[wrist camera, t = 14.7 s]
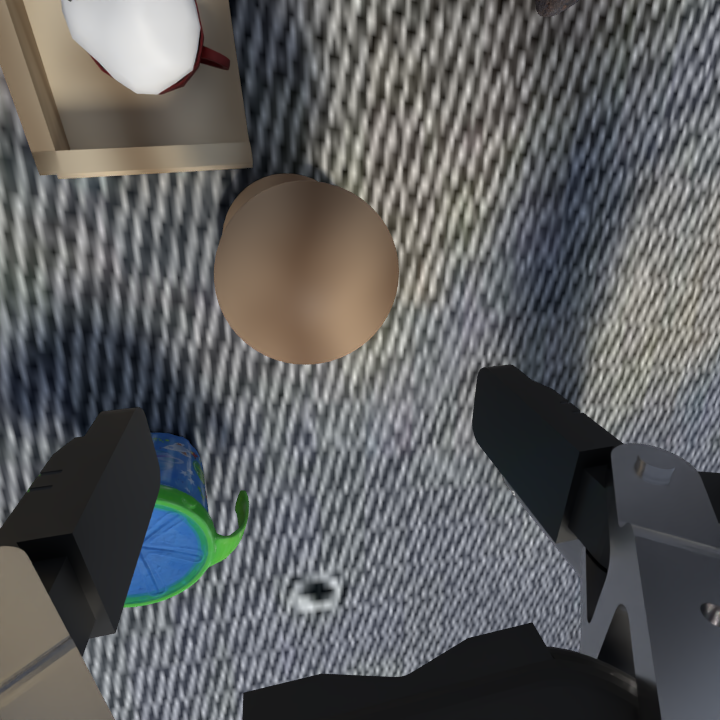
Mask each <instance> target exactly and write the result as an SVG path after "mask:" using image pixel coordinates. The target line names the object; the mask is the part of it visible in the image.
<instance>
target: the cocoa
mask: <svg viewBox="0 0 720 720" xmlns="http://www.w3.org/2000/svg"><path fill="white" fill-rule="evenodd" d="M61 5H62V12H63V15H64V18H65V20H66V23H67V26H68V28H69V31H70V34H71V36H72V39H73V40H75V41H76V42H77V43H78V44H79V45H80V46H81V47H82V48H83V49H85V50H86V51H87V52H88V54H89V55H90V56H91V58H92V59H93V60H94V62H95V63H96V64H97V65H98V67H99V68H100V69H101V71H103V72H104V73H106V74H107V75H109V76H110V77H112V78H114V79H115V80H117V81H118V82H120V83H121V84H123V85H124V86H126V87H127V88H129V89H130V90H132V91H133V92H135V93H136V94H155V95H157V94H159V95H162V94H165V93H167V92H170V91H173V90H176V89H178V88H181V87H184V86H185V85H186V83H187V82H188V81H189V79H190V78H191V77H192V76H193V74H194V73H195V72H196V70H197V69H198V68H199V66H200V63H201V64H205V65H208V66H212V67H215V68H219V69H223V70H229V67H230V60H229V59H228V58H227V57H226V56H224V55H222V54H220V53H218V52H216V51H214V50H212V49H210V48H208V47H205V46H203V43H204V34H203V29H202V25H201V20H200V15H199V11H198V6H197V2H196V0H61Z"/></svg>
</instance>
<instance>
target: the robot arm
mask: <svg viewBox="0 0 720 720" xmlns="http://www.w3.org/2000/svg"><path fill="white" fill-rule="evenodd" d="M472 426H473V432H474V436H475V438H476V441H477V442H478V444H479V445H480V447H481V448H482V449H483V451H484V452H485V453H486V454H487V456H488V457H489V458H490V460H491V461H492V462H493V463H494V465H495V466H496V467H497V469H498V470H499V471H500V473H501V474H502V475H503V480H504V483H505V484H506V486H507V487H508V488H509V490H510V491H511V492H512V494H513V495H514V496H515V497H516V498H517V499H518V501H519V502H520V503H521V504H522V506H523V507H524V508H525V510H526V511H527V512H528V513H529V515H530V516H531V517H532V518H533V520H534V521H535V522H536V523H537V525H538V526H539V527H540V528H541V530H542V531H543V532H544V533H545V534H546V536H547V537H548V538H549V539H550V541H551V542H552V543H553V544H554V546H555V547H556V548H557V549H558V551H559V552H560V553H561V554H562V556H563V557H564V558H565V559H566V561H567V562H568V563H569V564H570V566H571V567H572V568H573V569H574V570H575V572H576V573H577V574H578V575H579V577H580V592H581V639H580V649H579V653H578V652H575V651H571V650H567V649H561V648H556V647H547V646H546V645H545V643H544V642H543V640H542V638H541V636H540V635H539V633H538V631H537V630H536V628H535V626H534V625H533V623H528V624H524V625H520V626H516V627H512V628H508V629H504V630H499V631H495V632H491V633H487V634H483V635H479V636H475V637H471V638H467V639H466V640H464V641H463V642H461V643H459V644H458V645H456V646H454V647H453V648H451V649H449V650H448V651H446V652H445V653H443V654H441V655H440V656H438V657H436V658H435V659H433V660H431V661H430V662H428V663H426V664H425V665H423V666H422V667H420V668H418V669H417V670H415V671H413V672H412V673H410V674H408V675H406V676H402V677H381V676H360V675H338V674H319V675H314V676H310V677H306V678H302V679H298V680H294V681H290V682H286V683H282V684H277V685H273V686H269V687H265V688H261V689H257V690H253V691H249V692H245V693H243V720H720V473H712V472H698V471H697V470H696V469H695V468H694V467H693V466H692V465H691V464H690V463H688V462H687V461H686V460H684V459H683V458H681V457H679V456H677V455H675V454H673V453H671V452H669V451H667V450H664V449H661V448H658V447H655V446H651V445H646V444H638V443H628V444H623V443H622V442H620V441H619V440H618V439H617V438H615V437H614V436H613V435H611V434H610V433H609V432H607V431H606V430H605V429H604V428H602V427H601V426H600V425H598V424H597V423H596V422H595V421H593V420H592V419H591V418H589V417H588V416H587V415H586V414H584V413H580V410H579V409H578V408H576V407H575V406H574V405H573V404H571V403H568V401H567V400H566V399H565V398H564V397H562V396H561V395H560V394H558V393H557V392H556V391H554V390H553V389H551V388H549V387H546V386H544V385H542V384H540V383H537V382H535V381H532V380H531V379H530V378H529V377H527V376H526V375H525V374H524V373H522V372H521V371H520V370H519V369H517V368H516V367H515V366H513V365H501V366H493V367H484V368H482V369H480V371H479V373H478V376H477V384H476V392H475V401H474V410H473V418H472ZM40 474H41V475H40V476H37V478H36V479H35V481H34V482H33V483H32V485H31V486H30V488H29V492H26V493H25V495H24V496H23V498H22V499H21V500H20V502H19V503H18V505H17V506H16V507H15V509H14V510H13V512H12V513H11V514H10V516H9V517H8V519H7V520H6V521H5V523H4V524H3V526H2V527H1V528H0V720H115V719H114V717H113V715H112V713H111V711H110V709H109V708H108V706H107V704H106V702H105V700H104V698H103V696H102V694H101V692H100V690H99V689H98V687H97V685H96V683H95V681H94V679H93V677H92V675H91V673H90V672H89V670H88V668H87V666H86V664H85V662H84V660H83V658H82V656H83V654H84V651H85V648H86V645H87V643H88V640H89V638H94V637H99V636H104V635H109V634H114V633H116V629H117V626H118V623H119V620H120V616H121V613H122V610H123V607H124V603H125V600H126V597H127V594H128V591H129V587H130V584H131V581H132V578H133V574H134V571H135V568H136V565H137V561H138V558H139V555H140V552H141V549H142V545H143V542H144V539H145V536H146V532H147V529H148V526H149V523H150V519H151V516H152V513H153V510H154V506H155V503H156V500H157V497H158V494H159V490H160V480H161V479H160V466H159V462H158V458H157V454H156V451H155V447H154V444H153V440H152V437H151V433H150V429H149V426H148V422H147V419H146V416H145V413H144V411H143V410H142V408H140V407H136V408H127V409H118V410H110V411H102V412H101V413H100V414H99V415H98V416H97V418H96V419H95V421H94V422H93V424H92V426H91V427H90V429H89V430H88V432H87V433H86V435H85V436H84V437H76V438H74V439H73V440H71V441H70V442H69V443H67V444H66V445H65V446H64V447H62V448H61V449H60V450H58V451H57V452H56V453H54V454H53V455H52V457H51V458H50V460H49V461H48V462H47V464H46V465H45V467H44V468H43V469H42V471H41V472H40Z"/></svg>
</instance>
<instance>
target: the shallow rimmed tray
mask: <svg viewBox="0 0 720 720" xmlns="http://www.w3.org/2000/svg"><path fill="white" fill-rule="evenodd" d="M196 2H197V6H198V11H199V15H200V20H201V25H202V29H203V34H204V43H203V46H205V47H208V48H210V49H212V50H214V51H216V52H218V53H220V54H222V55H224V56H226V57H227V58H228V59H229V60H230V67H229V70H223V69H219V68H215V67H212V66H208V65H205V64H201V63H200V66H199V68H198V69H197V70H196V72H195V73H194V74H193V76H192V77H191V78H190V79H189V81H188V82H187V83H186V85H185V86H184V87H181V88H178V89H176V90H173V91H170V92H167V93H165V94H162V95H159V94H157V95H155V94H136V93H135V92H133V91H132V90H130V89H129V88H127V87H126V86H124V85H123V84H121V83H120V82H118V81H117V80H115V79H114V78H112V77H110V76H109V75H107V74H106V73H104V72H103V71H101V69H100V68H99V67H98V65H97V64H96V63H95V62H94V60H93V59H92V58H91V56H90V55H89V54H88V52H87V51H86V50H85V49H83V48H82V47H81V46H80V45H79V44H78V43H77V42H76V41H75V40H73V39H72V36H71V34H70V31H69V28H68V26H67V23H66V20H65V18H64V15H63V12H62V5H61V0H0V65H1V68H2V71H3V74H4V76H5V79H6V82H7V85H8V88H9V90H10V93H11V96H12V99H13V102H14V104H15V107H16V110H17V113H18V116H19V118H20V121H21V124H22V127H23V130H24V132H25V135H26V138H27V141H28V144H29V146H30V149H31V152H32V155H33V158H34V160H35V163H36V166H37V169H38V172H39V174H40V175H54V174H57V176H58V179H66V178H83V177H100V176H118V175H135V174H152V173H170V172H187V171H205V170H222V169H239V168H253V165H252V163H253V159H252V152H251V145H250V142H249V137H248V131H247V124H246V117H245V110H244V103H243V97H242V90H241V83H240V76H239V69H238V62H237V56H236V49H235V42H234V35H233V28H232V21H231V15H230V8H229V1H228V0H196Z"/></svg>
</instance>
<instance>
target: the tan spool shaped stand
mask: <svg viewBox="0 0 720 720" xmlns="http://www.w3.org/2000/svg"><path fill="white" fill-rule="evenodd" d="M398 278H399V266H398V257H397V252H396V248H395V245H394V242H393V239H392V236H391V234H390V232H389V230H388V228H387V226H386V225H385V223H384V222H383V220H382V219H381V217H380V216H379V215H378V214H377V213H376V212H375V211H374V209H373V208H372V207H371V206H369V205H368V204H367V203H366V202H365V201H364V200H362V199H361V198H359V197H358V196H356V195H355V194H353V193H351V192H349V191H347V190H345V189H343V188H340V187H338V186H334V185H331V184H328V183H324V182H318V181H316V180H314V179H312V178H309V177H306V176H302V175H298V174H286V173H282V174H274V175H270V176H267V177H264V178H261V179H259V180H257V181H255V182H253V183H252V184H250V185H249V186H247V187H246V188H245V189H244V190H243V191H242V192H241V193H240V194H239V195H238V196H237V197H236V199H235V200H234V202H233V203H232V205H231V206H230V208H229V211H228V213H227V215H226V218H225V222H224V225H223V232H222V237H221V239H220V242H219V246H218V249H217V253H216V258H215V265H214V283H215V290H216V295H217V299H218V302H219V305H220V307H221V310H222V312H223V314H224V316H225V318H226V320H227V321H228V323H229V325H230V326H231V327H232V329H233V330H234V331H235V332H236V334H237V335H238V336H239V337H240V338H241V339H242V340H243V341H244V342H245V343H247V344H248V345H249V346H251V347H252V348H253V349H255V350H256V351H258V352H260V353H262V354H264V355H265V356H268V357H270V358H273V359H275V360H279V361H282V362H286V363H293V364H319V363H324V362H329V361H332V360H335V359H338V358H341V357H343V356H345V355H347V354H349V353H351V352H353V351H354V350H356V349H358V348H359V347H361V346H362V345H363V344H364V343H366V342H367V341H368V340H369V339H370V338H371V337H372V336H373V335H374V334H375V333H376V332H377V330H378V329H379V328H380V327H381V325H382V324H383V322H384V321H385V319H386V317H387V316H388V314H389V312H390V310H391V307H392V305H393V302H394V299H395V296H396V292H397V287H398Z"/></svg>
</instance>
